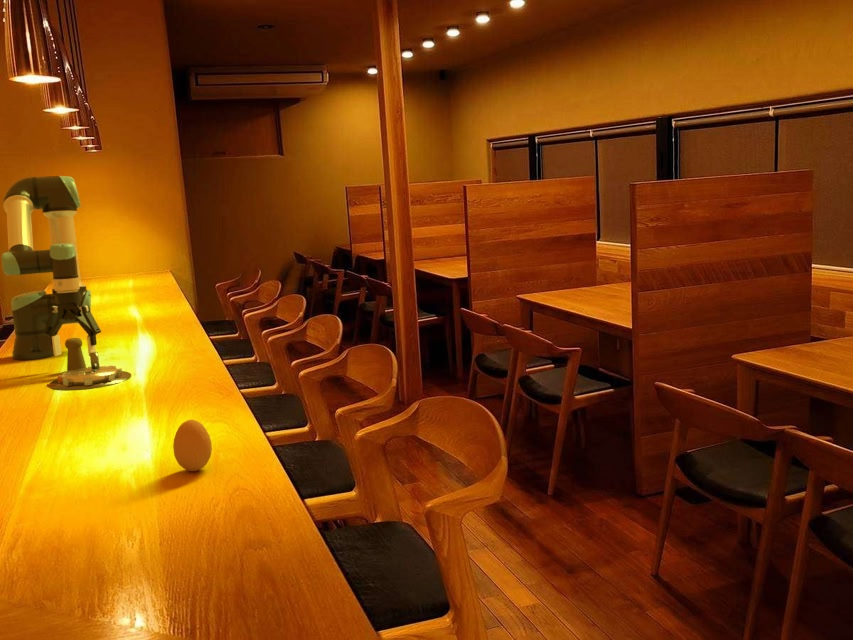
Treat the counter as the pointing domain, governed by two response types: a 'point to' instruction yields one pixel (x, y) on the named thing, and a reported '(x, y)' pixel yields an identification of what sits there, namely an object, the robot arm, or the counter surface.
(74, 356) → the pepper mill
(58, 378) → the sprocket
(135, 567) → the counter surface
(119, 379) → the plate
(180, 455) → the egg
